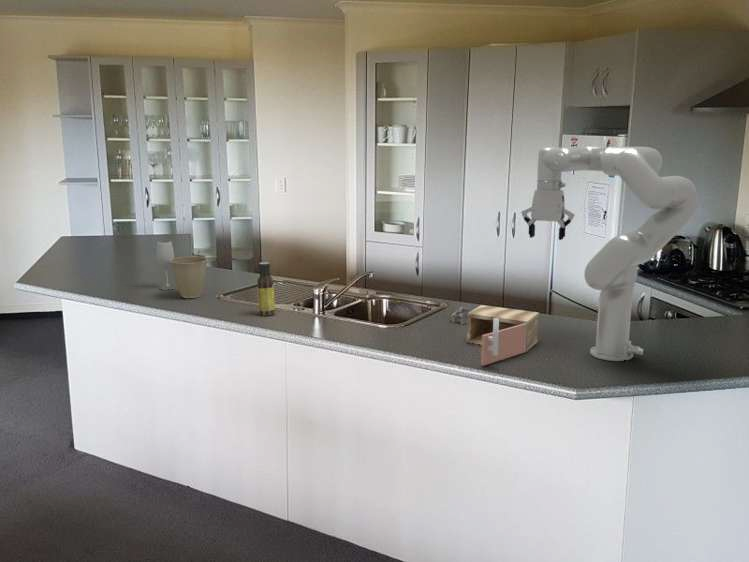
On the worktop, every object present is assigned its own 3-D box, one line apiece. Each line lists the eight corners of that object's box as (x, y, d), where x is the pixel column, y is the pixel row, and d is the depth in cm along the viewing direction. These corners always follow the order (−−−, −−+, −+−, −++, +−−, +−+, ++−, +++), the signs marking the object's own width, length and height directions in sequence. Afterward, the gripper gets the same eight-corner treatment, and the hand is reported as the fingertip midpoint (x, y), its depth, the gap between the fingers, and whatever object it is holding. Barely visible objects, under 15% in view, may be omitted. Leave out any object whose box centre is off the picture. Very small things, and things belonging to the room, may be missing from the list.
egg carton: (463, 316, 263) (463, 305, 262) (480, 319, 258) (480, 308, 257) (447, 322, 255) (447, 311, 254) (465, 325, 250) (465, 314, 249)
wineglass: (155, 290, 305) (151, 242, 300) (163, 286, 312) (160, 240, 308) (171, 291, 304) (168, 243, 299) (179, 287, 311) (176, 240, 306)
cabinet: (537, 341, 231) (538, 312, 228) (525, 352, 220) (527, 321, 218) (480, 333, 240) (481, 305, 238) (466, 342, 230) (467, 313, 228)
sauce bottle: (278, 314, 266) (276, 262, 262) (265, 317, 262) (262, 265, 257) (268, 311, 271) (266, 260, 266) (255, 314, 266) (252, 262, 262)
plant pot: (195, 302, 284) (193, 264, 280) (165, 299, 289) (162, 261, 286) (216, 294, 297) (214, 257, 294) (187, 291, 303) (184, 255, 299)
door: (525, 350, 220) (526, 306, 217) (535, 354, 217) (538, 308, 214) (480, 364, 208) (482, 317, 205) (491, 368, 205) (493, 320, 202)
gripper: (578, 186, 225) (575, 238, 229) (526, 184, 234) (524, 234, 238) (572, 188, 219) (569, 242, 223) (519, 185, 228) (517, 237, 231)
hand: (546, 238), depth 230 cm, fingers open, 9 cm apart
